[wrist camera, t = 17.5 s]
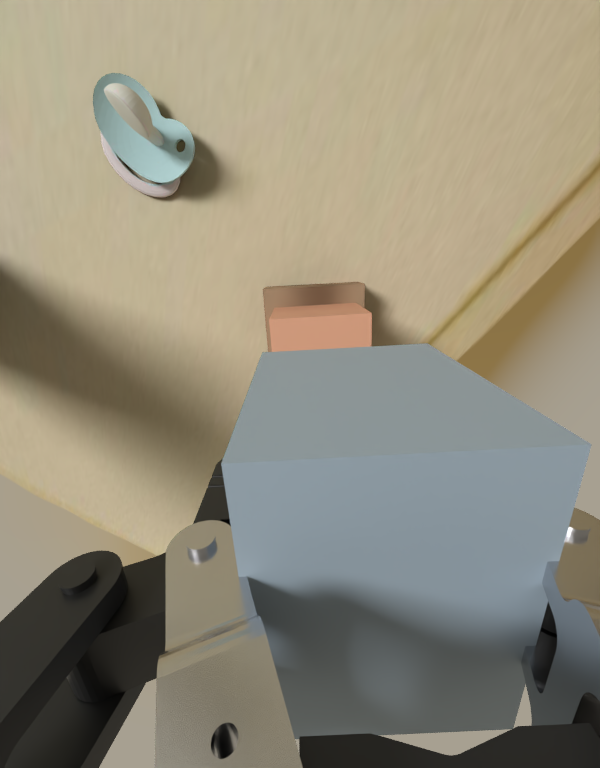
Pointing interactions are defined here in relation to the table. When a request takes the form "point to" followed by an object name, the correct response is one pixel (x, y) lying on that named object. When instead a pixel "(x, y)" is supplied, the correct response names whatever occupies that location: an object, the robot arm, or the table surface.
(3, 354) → the table surface
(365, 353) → the brick slate
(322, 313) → the brick terracotta
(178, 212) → the table surface
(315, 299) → the base block
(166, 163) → the pacifier
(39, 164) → the table surface
